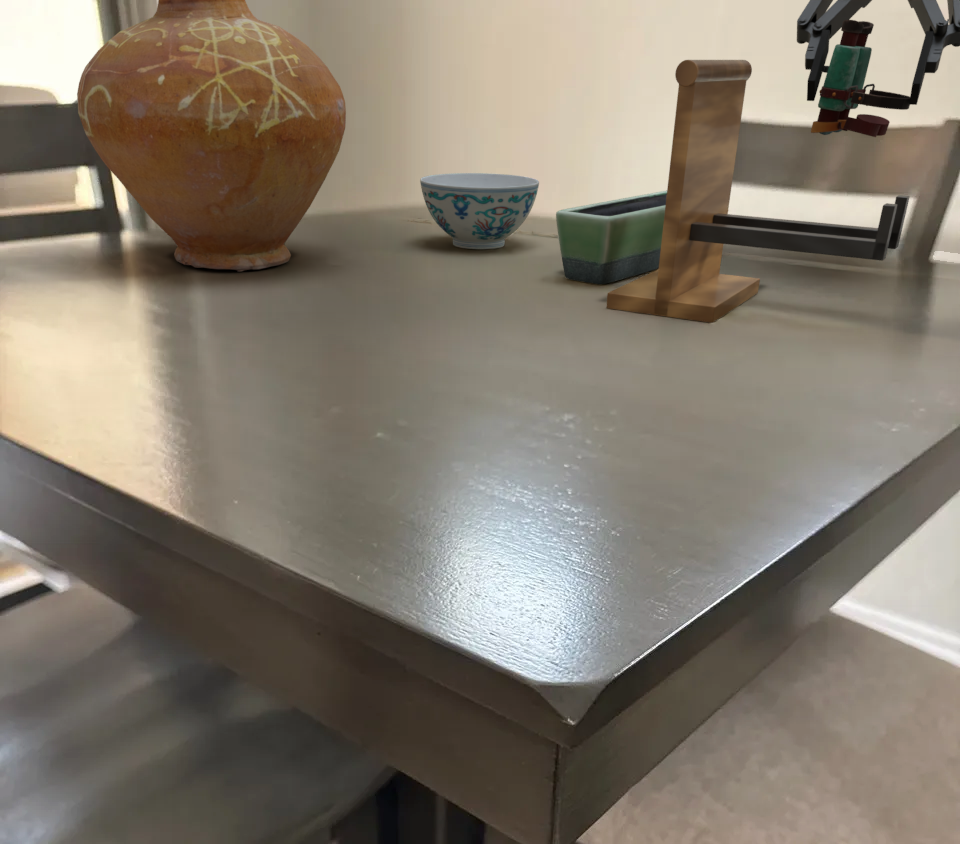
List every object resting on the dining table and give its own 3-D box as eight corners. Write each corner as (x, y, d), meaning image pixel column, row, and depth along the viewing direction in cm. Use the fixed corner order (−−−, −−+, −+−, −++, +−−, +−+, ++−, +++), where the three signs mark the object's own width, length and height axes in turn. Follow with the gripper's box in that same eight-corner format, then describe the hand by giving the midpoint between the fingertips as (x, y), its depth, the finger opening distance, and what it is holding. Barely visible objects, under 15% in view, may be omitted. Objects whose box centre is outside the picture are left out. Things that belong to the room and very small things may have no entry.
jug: (108, 294, 98) (45, -72, 82) (102, 246, 121) (51, -49, 105) (379, 280, 106) (368, -55, 91) (325, 237, 129) (309, -37, 113)
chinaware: (538, 256, 120) (542, 188, 116) (417, 254, 120) (416, 185, 116) (533, 236, 133) (536, 174, 129) (424, 234, 133) (423, 171, 129)
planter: (667, 248, 127) (674, 188, 123) (717, 255, 123) (726, 193, 120) (548, 280, 108) (552, 210, 104) (604, 290, 105) (610, 217, 101)
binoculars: (926, 29, 95) (825, 16, 99) (889, 148, 101) (795, 132, 105) (941, 30, 102) (846, 18, 105) (906, 142, 108) (817, 127, 111)
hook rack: (889, 308, 100) (945, 65, 88) (857, 344, 87) (918, 65, 76) (662, 280, 110) (687, 58, 98) (604, 309, 97) (625, 58, 86)
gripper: (1014, -49, 105) (970, 124, 101) (803, -46, 113) (754, 115, 109) (1031, -117, 98) (985, 65, 94) (805, -109, 106) (753, 60, 102)
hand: (861, 92), depth 101 cm, fingers closed on binoculars, 10 cm apart
